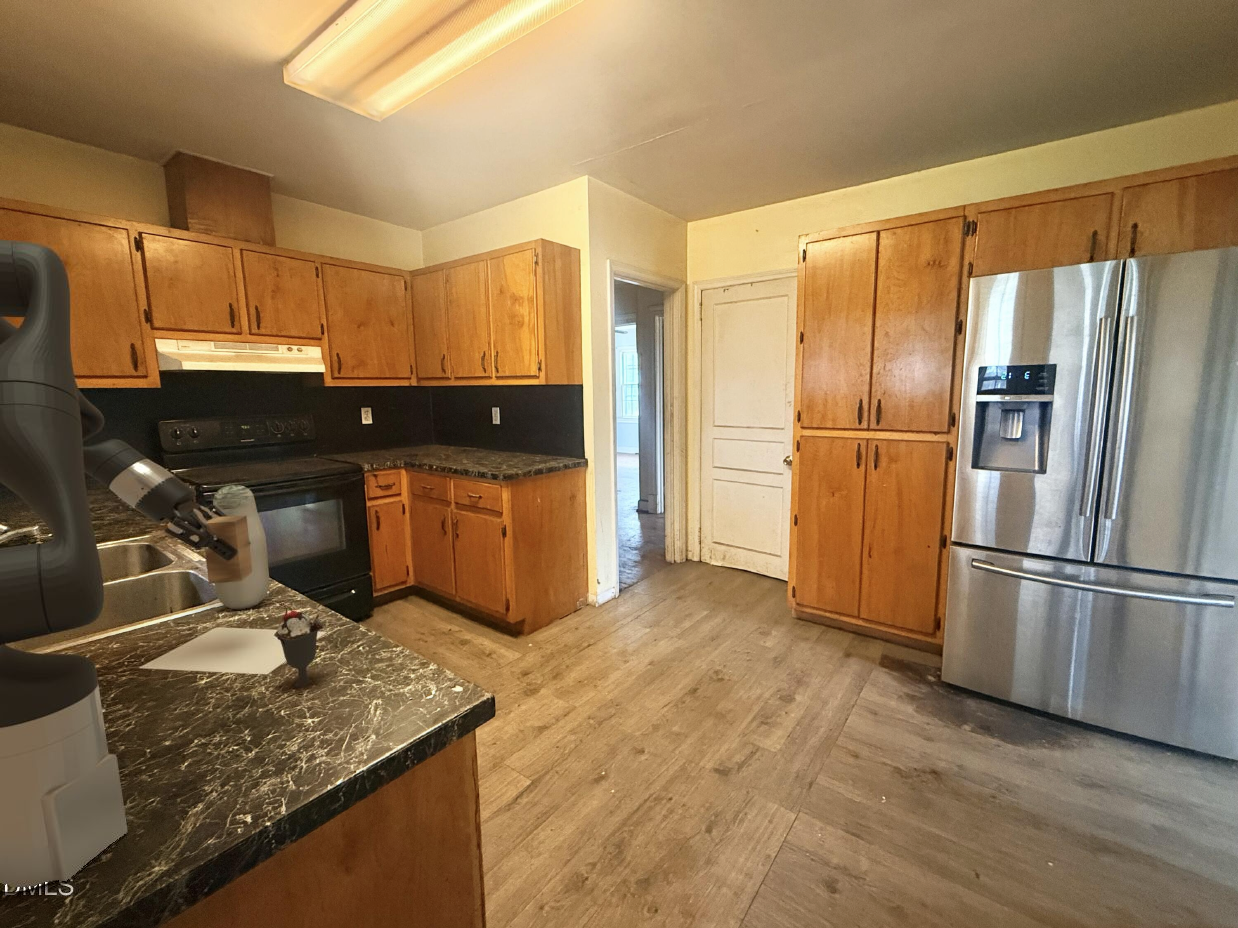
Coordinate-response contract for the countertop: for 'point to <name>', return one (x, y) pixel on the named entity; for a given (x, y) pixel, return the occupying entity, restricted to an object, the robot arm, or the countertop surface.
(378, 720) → the countertop surface
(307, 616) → the sundae
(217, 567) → the walnut block
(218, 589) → the glass bottle
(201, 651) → the cream sheet of paper
